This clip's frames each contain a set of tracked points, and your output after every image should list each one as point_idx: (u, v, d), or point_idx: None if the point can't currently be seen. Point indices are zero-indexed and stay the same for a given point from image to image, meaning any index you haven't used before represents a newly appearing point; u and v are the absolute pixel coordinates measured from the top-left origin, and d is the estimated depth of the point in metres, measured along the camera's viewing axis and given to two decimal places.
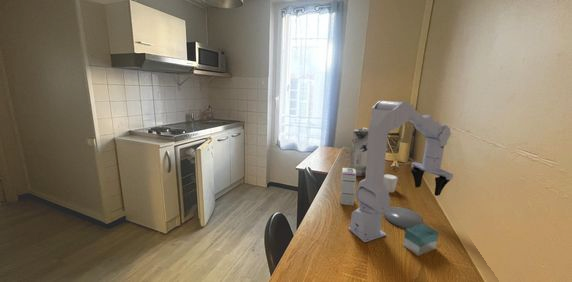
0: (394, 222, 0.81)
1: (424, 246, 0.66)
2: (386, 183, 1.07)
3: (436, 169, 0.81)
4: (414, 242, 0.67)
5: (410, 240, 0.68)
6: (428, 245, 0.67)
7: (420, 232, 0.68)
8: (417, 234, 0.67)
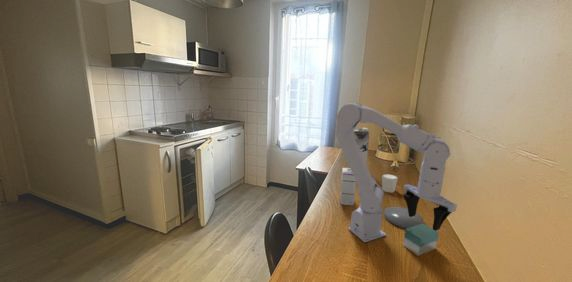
0: (394, 222, 0.81)
1: (424, 246, 0.66)
2: (386, 183, 1.07)
3: (435, 197, 0.63)
4: (414, 242, 0.67)
5: (410, 240, 0.68)
6: (428, 245, 0.67)
7: (420, 232, 0.68)
8: (417, 234, 0.67)
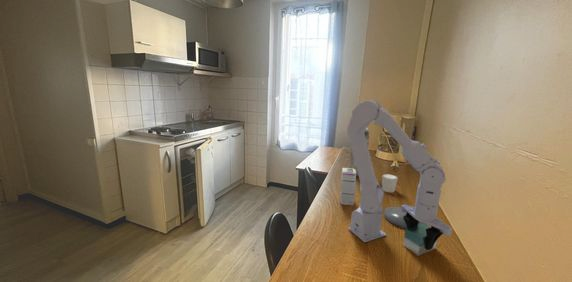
0: (394, 222, 0.81)
1: (424, 246, 0.66)
2: (386, 183, 1.07)
3: (431, 219, 0.65)
4: (414, 242, 0.67)
5: (410, 240, 0.68)
6: None
7: (420, 232, 0.68)
8: (417, 234, 0.67)
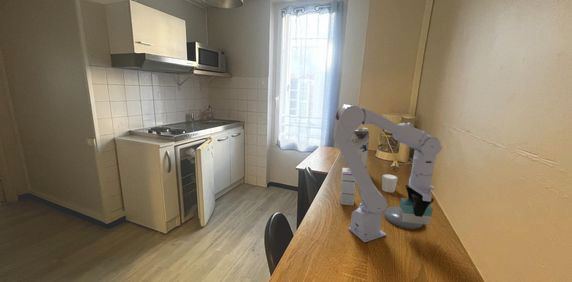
0: (394, 222, 0.81)
1: (411, 215, 0.72)
2: (386, 183, 1.07)
3: (419, 187, 0.70)
4: (402, 209, 0.74)
5: (401, 207, 0.75)
6: (417, 216, 0.72)
7: (411, 203, 0.73)
8: (406, 202, 0.73)
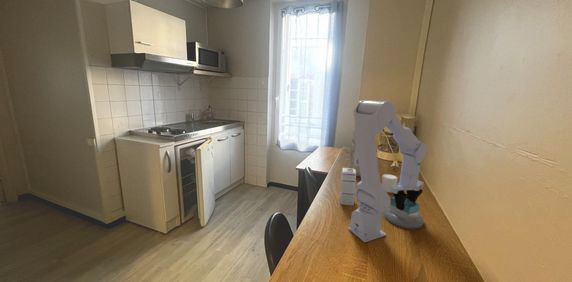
0: (394, 222, 0.81)
1: (395, 207, 0.85)
2: (386, 183, 1.07)
3: (400, 183, 0.82)
4: None
5: None
6: (399, 210, 0.83)
7: None
8: None
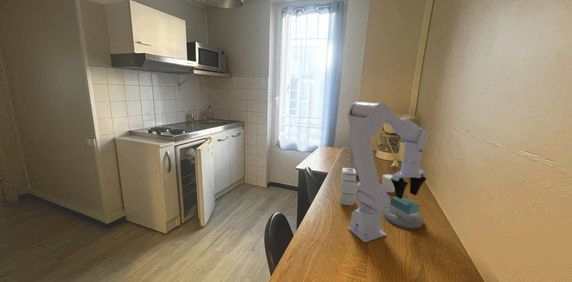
0: (394, 222, 0.81)
1: (395, 207, 0.85)
2: (386, 183, 1.07)
3: (402, 171, 0.81)
4: None
5: None
6: (399, 210, 0.83)
7: (400, 199, 0.85)
8: (396, 197, 0.86)
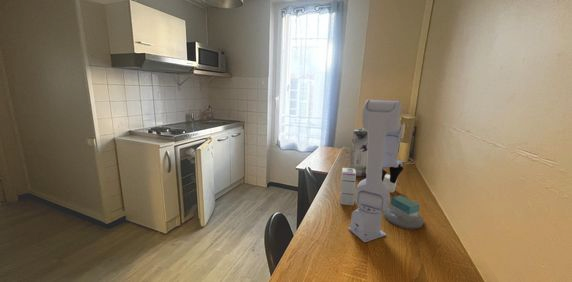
0: (394, 222, 0.81)
1: (395, 207, 0.85)
2: (386, 183, 1.07)
3: None
4: None
5: None
6: (399, 210, 0.83)
7: (401, 199, 0.85)
8: (396, 197, 0.86)
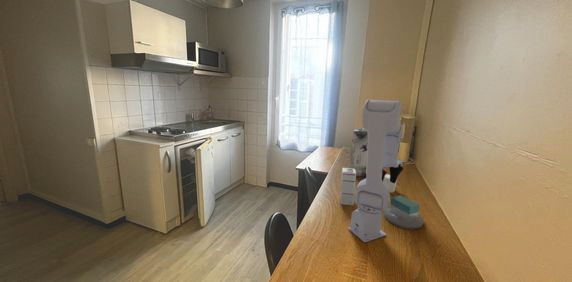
0: (394, 222, 0.81)
1: (395, 207, 0.85)
2: (386, 183, 1.07)
3: None
4: None
5: None
6: (399, 210, 0.83)
7: (400, 199, 0.85)
8: (396, 197, 0.86)
